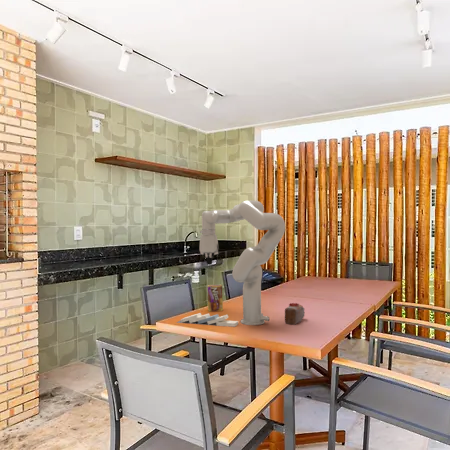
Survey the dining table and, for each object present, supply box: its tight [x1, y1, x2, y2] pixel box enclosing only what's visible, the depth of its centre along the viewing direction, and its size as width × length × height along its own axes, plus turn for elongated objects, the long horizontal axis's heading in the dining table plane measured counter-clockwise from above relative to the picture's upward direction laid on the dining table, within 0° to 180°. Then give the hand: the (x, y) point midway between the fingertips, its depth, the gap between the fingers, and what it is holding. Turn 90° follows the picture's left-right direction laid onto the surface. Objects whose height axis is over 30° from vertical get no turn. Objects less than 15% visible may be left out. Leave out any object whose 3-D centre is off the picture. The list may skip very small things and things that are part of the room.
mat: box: [175, 319, 219, 327], centre depth 206 cm, size 28×7×1 cm, turn 69°
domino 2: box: [189, 313, 211, 323], centre depth 206 cm, size 2×5×10 cm
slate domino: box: [197, 313, 220, 325], centre depth 204 cm, size 2×5×10 cm
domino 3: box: [207, 314, 229, 326], centre depth 202 cm, size 2×5×10 cm
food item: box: [284, 302, 305, 326], centre depth 206 cm, size 14×8×10 cm, turn 154°
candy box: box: [207, 284, 224, 312], centre depth 236 cm, size 9×4×15 cm, turn 96°
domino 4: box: [216, 319, 239, 327], centre depth 200 cm, size 2×5×10 cm
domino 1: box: [180, 312, 203, 322], centre depth 208 cm, size 2×5×10 cm
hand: (209, 264), depth 224 cm, fingers closed
